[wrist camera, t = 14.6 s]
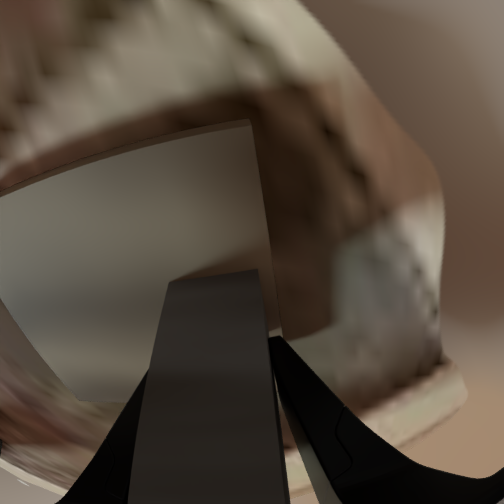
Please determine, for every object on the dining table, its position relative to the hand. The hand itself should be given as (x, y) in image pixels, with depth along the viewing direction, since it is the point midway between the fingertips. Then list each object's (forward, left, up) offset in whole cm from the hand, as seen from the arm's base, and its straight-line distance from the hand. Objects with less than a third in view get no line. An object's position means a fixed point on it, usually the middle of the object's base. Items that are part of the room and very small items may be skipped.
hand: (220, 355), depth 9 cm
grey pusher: (0, +4, -4) cm, 5 cm away
